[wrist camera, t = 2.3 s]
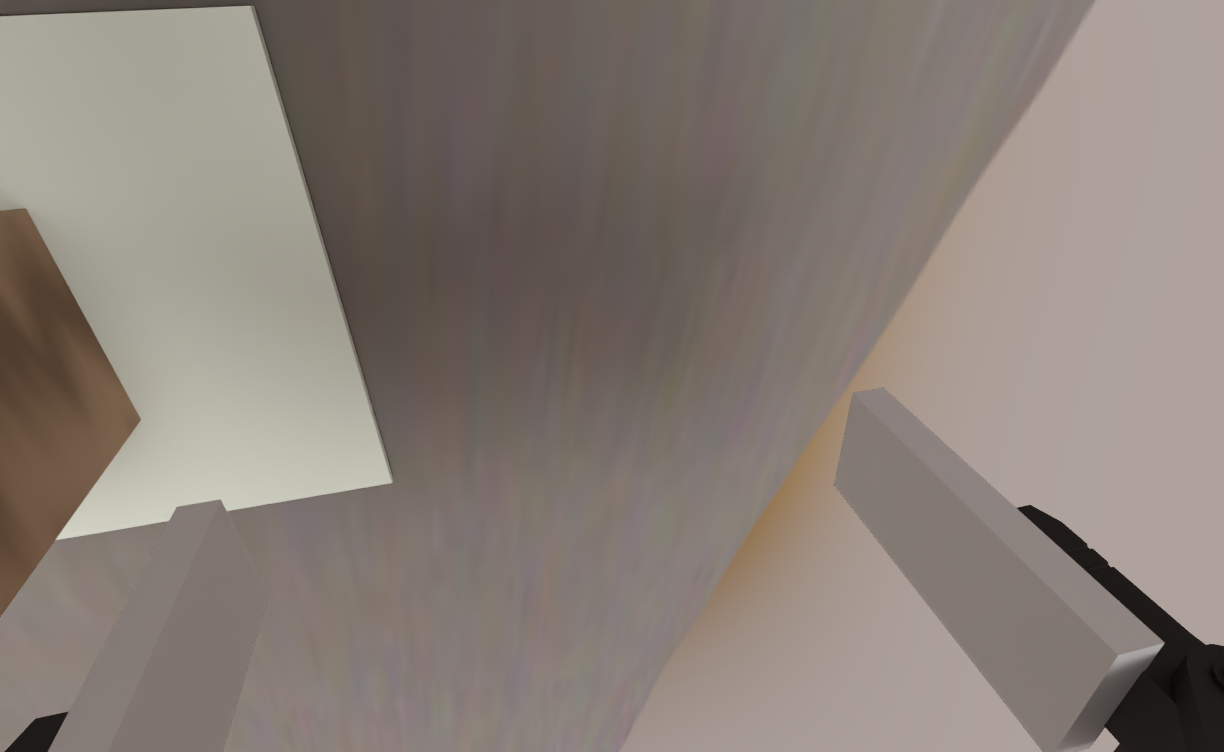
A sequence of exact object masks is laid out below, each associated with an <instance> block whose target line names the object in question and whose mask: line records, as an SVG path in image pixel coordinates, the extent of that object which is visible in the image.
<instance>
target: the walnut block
mask: <svg viewBox="0 0 1224 752" xmlns="http://www.w3.org/2000/svg"><path fill="white" fill-rule="evenodd" d="M140 421H141V419H140V417H139V415H138V413H137V411H136V409H135V408H134V406H133V404H132V402H131V400H130V398H129V397H128V395H127V393H126V391H125V389H124V387H123V386H122V384H121V382H120V380H119V378H118V376H117V375H116V373H115V371H114V369H113V367H112V365H111V364H110V362H109V360H108V358H107V356H106V354H105V352H104V351H103V349H102V347H101V345H100V343H99V341H98V340H97V338H96V336H95V334H94V332H93V330H92V329H91V327H90V325H89V323H88V321H87V319H86V318H85V316H84V314H83V312H82V310H81V308H80V307H79V305H78V303H77V301H76V299H75V297H74V296H73V294H72V292H71V290H70V288H69V286H68V285H67V283H66V281H65V279H64V277H63V275H62V274H61V272H60V270H59V268H58V266H57V264H56V263H55V261H54V259H53V257H52V255H51V253H50V251H49V250H48V248H47V246H46V244H45V242H44V240H43V239H42V237H41V235H40V233H39V231H38V229H37V228H36V226H35V224H34V222H33V220H32V218H31V217H30V215H29V213H28V211H27V209H26V208H24V209H13V210H1V211H0V617H1V615H2V614H3V612H4V611H5V610H6V608H7V607H8V605H9V604H10V603H11V601H12V600H13V598H14V597H15V596H16V594H17V593H18V591H19V590H20V589H21V587H22V586H23V584H24V583H25V582H26V580H27V579H28V577H29V576H30V575H31V573H32V572H33V570H34V569H35V568H36V566H37V565H38V563H39V562H40V561H41V559H42V558H43V556H44V555H45V554H46V552H47V551H48V549H49V548H50V547H51V545H52V544H53V542H54V541H55V540H56V538H57V537H58V535H59V534H60V533H61V531H62V530H63V528H64V527H65V526H66V524H67V523H68V521H69V520H70V519H71V517H72V516H73V514H74V513H75V512H76V510H77V509H78V508H79V506H80V505H81V503H82V502H83V501H84V499H85V498H86V496H87V495H88V494H89V492H90V491H91V489H92V488H93V487H94V485H95V484H96V482H97V481H98V480H99V478H100V477H101V475H102V474H103V473H104V471H105V470H106V468H107V467H108V466H109V464H110V463H111V461H112V460H113V459H114V457H115V456H116V454H117V453H118V452H119V450H120V449H121V447H122V446H123V445H124V443H125V442H126V440H127V439H128V438H129V436H130V435H131V433H132V432H133V431H134V429H135V428H136V426H137V425H138V424H139V422H140Z"/></svg>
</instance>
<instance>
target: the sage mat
mask: <svg viewBox="0 0 1224 752" xmlns="http://www.w3.org/2000/svg"><path fill="white" fill-rule="evenodd" d="M24 208H26V209H27V211H28V213H29V215H30V217H31V218H32V220H33V222H34V224H35V226H36V228H37V229H38V231H39V233H40V235H41V237H42V239H43V240H44V242H45V244H46V246H47V248H48V250H49V251H50V253H51V255H52V257H53V259H54V261H55V263H56V264H57V266H58V268H59V270H60V272H61V274H62V275H63V277H64V279H65V281H66V283H67V285H68V286H69V288H70V290H71V292H72V294H73V296H74V297H75V299H76V301H77V303H78V305H79V307H80V308H81V310H82V312H83V314H84V316H85V318H86V319H87V321H88V323H89V325H90V327H91V329H92V330H93V332H94V334H95V336H96V338H97V340H98V341H99V343H100V345H101V347H102V349H103V351H104V352H105V354H106V356H107V358H108V360H109V362H110V364H111V365H112V367H113V369H114V371H115V373H116V375H117V376H118V378H119V380H120V382H121V384H122V386H123V387H124V389H125V391H126V393H127V395H128V397H129V398H130V400H131V402H132V404H133V406H134V408H135V409H136V411H137V413H138V415H139V417H140V419H141V421H140V422H139V424H138V425H137V426H136V428H135V429H134V431H133V432H132V433H131V435H130V436H129V438H128V439H127V440H126V442H125V443H124V445H123V446H122V447H121V449H120V450H119V452H118V453H117V454H116V456H115V457H114V459H113V460H112V461H111V463H110V464H109V466H108V467H107V468H106V470H105V471H104V473H103V474H102V475H101V477H100V478H99V480H98V481H97V482H96V484H95V485H94V487H93V488H92V489H91V491H90V492H89V494H88V495H87V496H86V498H85V499H84V501H83V502H82V503H81V505H80V506H79V508H78V509H77V510H76V512H75V513H74V514H73V516H72V517H71V519H70V520H69V521H68V523H67V524H66V526H65V527H64V528H63V530H62V531H61V533H60V534H59V535H58V537H57V538H56V540H59V539H65V538H71V537H77V536H83V535H89V534H95V533H100V532H106V531H112V530H118V529H124V528H130V527H136V526H142V525H148V524H153V523H159V522H165V521H169V520H170V518H171V516H172V514H173V512H174V511H175V509H176V507H178V506H184V505H190V504H196V503H202V502H208V501H214V500H220V499H221V501H222V503H223V505H224V507H225V509H226V511H230V510H236V509H242V508H248V507H254V506H260V505H265V504H271V503H277V502H283V501H289V500H295V499H301V498H307V497H313V496H318V495H324V494H330V493H336V492H342V491H348V490H354V489H360V488H366V487H372V486H377V485H383V484H389V483H392V481H393V476H392V472H391V469H390V465H389V462H388V459H387V455H386V452H385V449H384V445H383V442H382V438H381V435H380V432H379V428H378V425H377V421H376V418H375V415H374V411H373V408H372V404H371V401H370V398H369V394H368V391H367V387H366V384H365V381H364V377H363V374H362V370H361V367H360V364H359V360H358V357H357V353H356V350H355V347H354V343H353V340H352V336H351V333H350V330H349V326H348V323H347V319H346V316H345V313H344V309H343V306H342V303H341V299H340V296H339V292H338V289H337V286H336V282H335V279H334V275H333V272H332V269H331V265H330V262H329V258H328V255H327V252H326V248H325V245H324V241H323V238H322V235H321V231H320V228H319V224H318V221H317V218H316V214H315V211H314V207H313V204H312V201H311V197H310V194H309V190H308V187H307V184H306V180H305V177H304V174H303V170H302V167H301V163H300V160H299V157H298V153H297V150H296V146H295V143H294V140H293V136H292V133H291V129H290V126H289V123H288V119H287V116H286V112H285V109H284V106H283V102H282V99H281V95H280V92H279V89H278V85H277V82H276V78H275V75H274V72H273V68H272V65H271V61H270V58H269V55H268V51H267V48H266V45H265V41H264V38H263V34H262V31H261V28H260V24H259V21H258V17H257V14H256V11H255V7H254V6H230V7H207V8H184V9H160V10H137V11H114V12H91V13H67V14H44V15H21V16H0V211H1V210H13V209H24Z"/></svg>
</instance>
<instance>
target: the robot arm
mask: <svg viewBox="0 0 1224 752" xmlns="http://www.w3.org/2000/svg"><path fill="white" fill-rule="evenodd" d="M834 486H835V487H836V488H837V490H838V491H839V492H840V493H841V495H842V496H843V497H844V499H845V500H846V501H847V502H848V503H849V505H850V506H851V508H852V509H853V510H854V511H855V513H856V514H857V515H858V516H859V518H860V519H861V520H862V522H863V523H864V524H865V525H866V527H867V528H868V529H869V530H870V532H871V533H872V534H873V535H874V537H875V538H876V539H877V541H878V542H879V543H880V544H881V546H882V547H883V548H884V550H885V551H886V552H887V553H888V555H889V556H890V557H891V559H892V560H893V561H894V562H895V564H896V565H897V566H898V567H899V569H900V570H901V571H902V573H903V574H904V575H905V576H906V578H907V579H908V580H909V581H910V583H911V584H912V585H913V587H914V588H915V589H916V590H917V592H918V593H919V594H920V595H921V597H922V598H923V599H924V601H925V602H926V603H927V605H928V606H929V607H930V608H931V610H932V611H933V612H934V613H935V615H936V616H937V617H938V618H939V620H940V621H941V622H942V624H943V625H944V626H945V627H946V629H947V630H948V631H949V633H950V634H951V635H952V636H953V638H954V639H955V640H956V642H957V643H958V644H959V645H960V647H961V648H962V649H963V650H964V652H965V653H966V654H967V655H968V657H969V658H970V659H971V661H972V662H973V663H974V664H975V666H976V667H977V668H978V670H979V671H980V672H981V673H982V675H983V676H984V677H985V678H986V680H987V681H988V682H989V684H990V685H991V686H992V687H993V688H994V690H995V691H996V693H997V694H998V695H999V696H1000V698H1001V699H1002V700H1003V702H1004V703H1005V704H1006V705H1007V707H1008V708H1009V709H1010V710H1011V712H1012V713H1013V714H1014V716H1015V717H1016V718H1017V719H1018V721H1019V722H1020V723H1021V724H1022V726H1023V727H1024V728H1025V729H1026V731H1027V732H1028V733H1029V735H1030V736H1031V737H1032V739H1033V740H1034V741H1035V742H1036V744H1037V745H1038V746H1039V747H1040V748H1041V750H1042V751H1043V752H1078V751H1081V750H1085V749H1088V748H1090V747H1091V746H1092V745H1093V743H1094V742H1095V740H1096V739H1097V738H1098V736H1099V735H1100V733H1101V732H1102V731H1103V729H1104V728H1105V727H1106V728H1107V729H1108V731H1109V732H1110V733H1111V734H1112V735H1113V736H1114V737H1115V738H1116V739H1117V740H1118V742H1119V743H1120V744H1119V745H1118V747H1117V748H1116V749H1115V751H1114V752H1224V646H1220V645H1215V644H1209V645H1205V644H1204V643H1202V642H1201V641H1200V640H1199V639H1197V638H1196V637H1195V636H1193V635H1192V634H1191V633H1189V632H1188V631H1187V630H1186V629H1185V628H1184V627H1182V626H1181V625H1180V624H1179V623H1178V622H1177V621H1176V620H1175V619H1173V618H1172V617H1171V616H1170V615H1169V614H1168V613H1166V612H1165V611H1164V610H1163V609H1162V608H1161V607H1159V606H1158V605H1157V604H1156V603H1155V602H1154V601H1152V600H1151V599H1150V598H1149V597H1148V596H1147V595H1146V594H1144V593H1143V592H1142V591H1141V590H1140V589H1139V588H1137V587H1136V586H1135V585H1134V584H1133V583H1132V582H1131V581H1129V580H1128V579H1127V578H1126V577H1125V576H1124V575H1122V574H1121V573H1120V572H1119V571H1118V570H1117V569H1115V568H1114V567H1110V566H1109V565H1108V562H1107V561H1106V560H1105V559H1104V558H1103V557H1101V556H1100V555H1099V554H1098V553H1097V552H1096V551H1095V550H1093V549H1089V548H1088V547H1087V544H1086V543H1085V542H1084V541H1083V540H1082V539H1081V538H1080V537H1078V536H1077V535H1076V534H1075V533H1073V532H1072V531H1071V530H1070V529H1069V528H1068V527H1067V526H1066V525H1064V524H1063V523H1062V522H1061V521H1059V520H1057V519H1055V518H1053V517H1051V516H1050V515H1048V514H1046V513H1044V512H1042V511H1040V510H1039V509H1037V508H1035V507H1033V506H1031V505H1028V506H1023V507H1019V508H1016V507H1015V506H1013V505H1012V504H1011V503H1010V502H1009V501H1008V500H1007V499H1006V498H1005V497H1003V496H1002V495H1001V494H1000V493H999V492H998V491H997V490H996V489H995V488H994V487H993V486H991V485H990V484H989V483H988V482H987V481H986V480H985V479H984V478H982V477H981V476H980V475H979V474H978V473H977V472H976V471H975V470H974V469H973V468H972V467H970V466H969V465H968V464H967V463H966V462H965V461H964V460H963V459H961V457H959V456H958V455H957V454H956V453H955V452H954V451H953V450H952V449H951V448H949V447H948V446H947V445H946V444H945V443H944V442H943V441H942V440H941V439H940V438H939V437H937V436H936V435H935V434H934V433H933V432H932V431H931V430H930V429H929V428H927V427H926V426H925V425H924V424H923V423H922V422H921V421H920V420H919V419H918V418H917V417H915V416H914V415H913V414H912V413H911V412H910V411H909V410H908V409H906V408H905V407H904V406H903V405H902V404H901V403H900V402H899V401H898V400H897V399H896V398H894V397H893V396H892V395H891V394H890V393H889V392H888V391H887V390H886V389H884V388H878V389H872V390H866V391H860V392H854V393H853V394H852V399H851V403H850V409H849V414H848V418H847V423H846V428H845V433H844V438H843V443H842V448H841V453H840V458H839V462H838V467H837V472H836V477H835V482H834ZM268 598H269V594H268V592H267V590H266V588H265V586H264V584H263V582H262V580H261V578H260V576H259V574H258V572H257V570H256V568H255V566H254V564H253V562H252V560H251V558H250V556H249V554H248V552H247V550H246V548H245V546H244V544H243V542H242V540H241V538H240V536H239V534H238V532H237V530H236V528H235V527H234V525H233V523H232V521H231V519H230V517H229V515H228V513H227V511H226V509H225V507H224V505H223V503H222V501H221V499H220V500H214V501H208V502H202V503H196V504H190V505H184V506H178V507H176V509H175V511H174V512H173V514H172V516H171V518H170V520H169V522H168V524H167V526H166V528H165V530H164V532H163V533H162V535H161V537H160V539H159V541H158V543H157V545H156V547H155V549H154V551H153V552H152V554H151V556H150V558H149V560H148V562H147V564H146V566H145V568H144V570H143V571H142V573H141V575H140V577H139V579H138V581H137V583H136V585H135V587H134V589H133V591H132V592H131V594H130V596H129V598H128V600H127V602H126V604H125V606H124V608H123V610H122V611H121V613H120V615H119V617H118V619H117V621H116V623H115V625H114V627H113V629H112V630H111V632H110V634H109V636H108V638H107V640H106V642H105V644H104V646H103V648H102V649H101V651H100V653H99V655H98V657H97V659H96V661H95V663H94V665H93V667H92V669H91V670H90V672H89V674H88V676H87V678H86V680H85V682H84V684H83V686H82V688H81V689H80V691H79V693H78V695H77V697H76V699H75V701H74V703H73V705H72V707H71V708H70V710H69V712H65V713H60V714H55V715H51V716H46V717H41V718H37V719H35V720H34V721H33V722H32V723H31V724H30V725H29V726H28V727H27V728H26V729H25V730H24V732H23V733H22V734H21V735H20V736H19V737H18V738H17V739H16V740H15V741H14V742H13V743H12V744H11V745H10V746H9V748H8V749H7V750H6V751H5V752H223V750H224V747H225V744H226V740H227V737H228V733H229V730H230V727H231V723H232V720H233V716H234V713H235V710H236V706H237V703H238V699H239V696H240V693H241V689H242V686H243V683H244V679H245V676H246V672H247V669H248V666H249V662H250V659H251V655H252V652H253V649H254V645H255V642H256V638H257V635H258V632H259V628H260V625H261V621H262V618H263V615H264V611H265V608H266V605H267V601H268Z"/></svg>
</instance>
